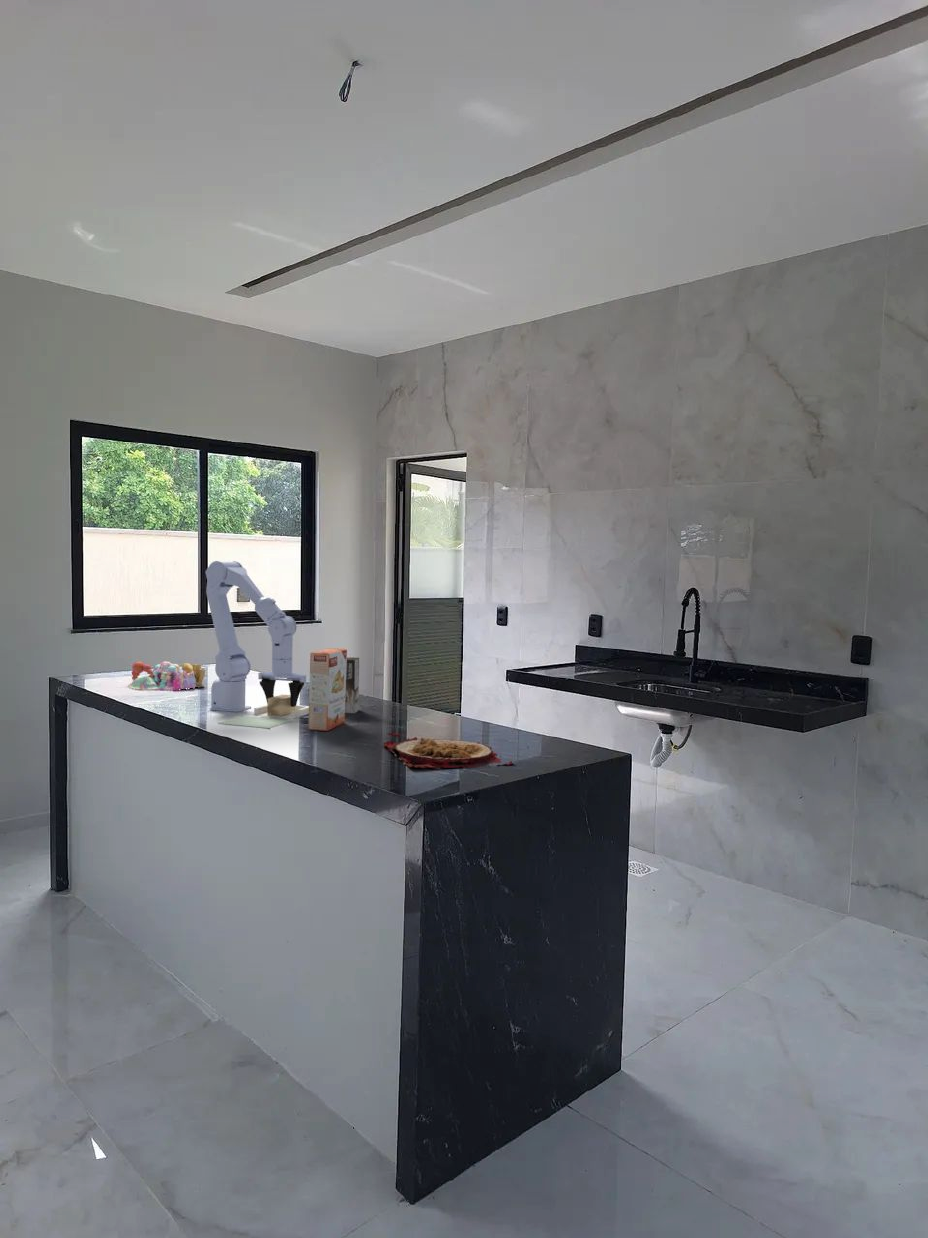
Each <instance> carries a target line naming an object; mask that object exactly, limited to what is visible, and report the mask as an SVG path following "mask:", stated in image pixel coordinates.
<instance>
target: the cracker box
mask: <svg viewBox="0 0 928 1238" xmlns="http://www.w3.org/2000/svg"><path fill="white" fill-rule="evenodd" d="M309 655H310V657H309V658H310V660H309V661H310V662H309V689H308V690H309V691H308V692H309V693H308V694H309V695H308V697H309V698H308V706H309V714H308V722H307V723H308V727H307V729H308V731H319V732H328V731H330V730H333V729H334V728H337V727H338V726H340V725H342V724H345V720H346V719H345V718H346V713H345V693H346V663H347V657H348V656H347V655H348V649H345V648H324V649H321V650H316V651H312V652H310V654H309Z"/></svg>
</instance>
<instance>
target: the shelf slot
mask: <svg viewBox="0 0 928 1238" xmlns="http://www.w3.org/2000/svg"><path fill="white" fill-rule="evenodd" d="M267 707H268V705H267V704H265V705H264V704H263V705H261V706H257V707H254V708H253V716H262V717H268V716H267ZM306 715H309V705H299V704H297V705H296V706H295V711H291V714H289V715H286V716H283V717H280V718H282V719H283V718H285V719H292V720H293V719H297V718H300V717H304V716H306ZM270 717H271V718H272V717H273V718H278V717H277V716H269V718H270Z"/></svg>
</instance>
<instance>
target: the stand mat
mask: <svg viewBox="0 0 928 1238" xmlns="http://www.w3.org/2000/svg"><path fill="white" fill-rule="evenodd" d="M292 721H293V719H292V720H291V719H290V720H289V719H279V718H270V717H257V716H249V715H248V716H247V715H240V716H237V717H234V718H230V719H226V720H223V721H220V722H217V725H223V726H234V727H244V728H255V729H265V730H266V729H267V730H271V729H273V728H275V727H279V726H282V725H285V724H287V723H290V722H292Z"/></svg>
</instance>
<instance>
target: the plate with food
mask: <svg viewBox="0 0 928 1238" xmlns="http://www.w3.org/2000/svg"><path fill="white" fill-rule="evenodd" d="M389 735H390V736H393V737H395V739H397V738H398V737H403V735H402V734H401V733H400V734H399V733H392V732H391V733H389V732H388V733H387V736H389ZM399 739H400V740H401V738H399ZM382 745H384V746H383V747H384V748H387V752H389V753H393V754H394V756H395V757H398V755H397V754H396V752H398V753H399V757H398V760H399V761H401V762H402V764H403V765H405V766H406V765H407V766H408V767H409V768H416V769H423V770H424V769H428V768H432V769H434V770H439V769H442V768H444V769H445V768H446V769H447V768H449V769H451V768H452V769H453V768H462V769H466V767H467V768H476V767H477V766H479V765H481V764H482V765H485V764H491V763H492V765H488V767H490V768H491V767H494V764H495V763H496V764H497V765H496V764H495V766H496V767H497V766H499V764H500V766H503V765H505V766H509V765H514V764H515V762H513V761H512V760H510V761H508V763H505V762H504V763H502V761H501V759H502V755H499V757H500V758H501V759H500V758H498V753H496V752H494V750H492V747H491V746H488V745H485V744H481V743H480V742H479V741H478V742H473V741H467V740H459V739H455V740H454V739H441V738H433V739H432V738H430V737H425V738H423V737H421V738H420V739H418V737H417V736H415V737H413V738H404V741H399V742H397V743H396V742H395V741H394V740H390V741H388V740H387V741H386V742H385V741H382ZM493 763H494V764H493ZM501 763H502V764H501ZM413 764H414V765H413Z"/></svg>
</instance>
